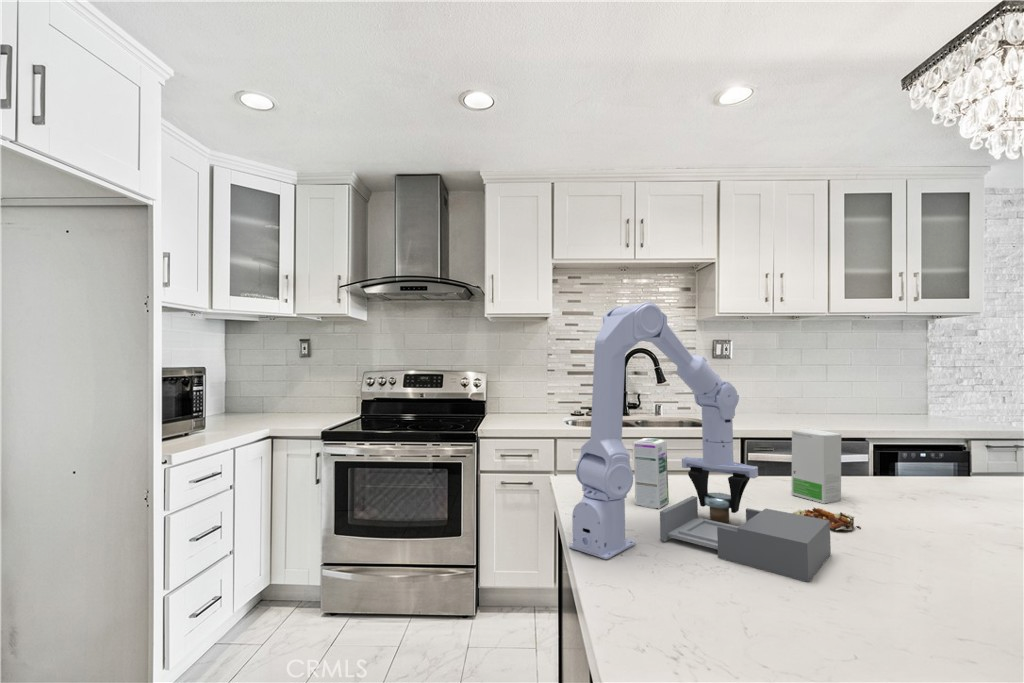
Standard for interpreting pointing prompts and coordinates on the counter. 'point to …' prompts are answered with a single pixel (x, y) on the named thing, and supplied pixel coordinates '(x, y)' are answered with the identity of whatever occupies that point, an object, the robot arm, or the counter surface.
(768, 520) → the housing
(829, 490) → the skincare box
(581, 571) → the counter surface
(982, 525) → the counter surface
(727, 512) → the stand
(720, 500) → the disc
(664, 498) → the syrup box
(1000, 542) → the counter surface
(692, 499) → the tray
